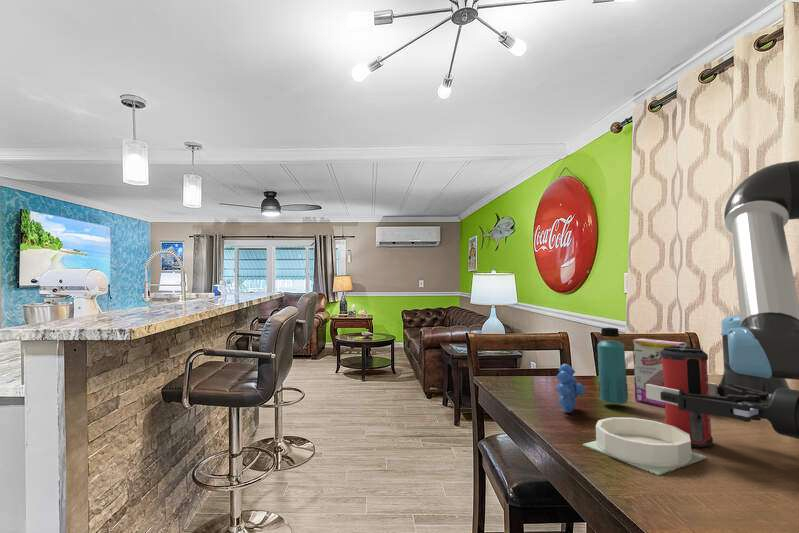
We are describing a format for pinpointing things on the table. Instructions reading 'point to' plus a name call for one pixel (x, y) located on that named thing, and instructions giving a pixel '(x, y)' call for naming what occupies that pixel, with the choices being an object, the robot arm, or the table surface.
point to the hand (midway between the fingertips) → (664, 387)
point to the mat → (651, 469)
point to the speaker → (687, 391)
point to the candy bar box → (649, 366)
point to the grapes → (568, 388)
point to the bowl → (644, 442)
